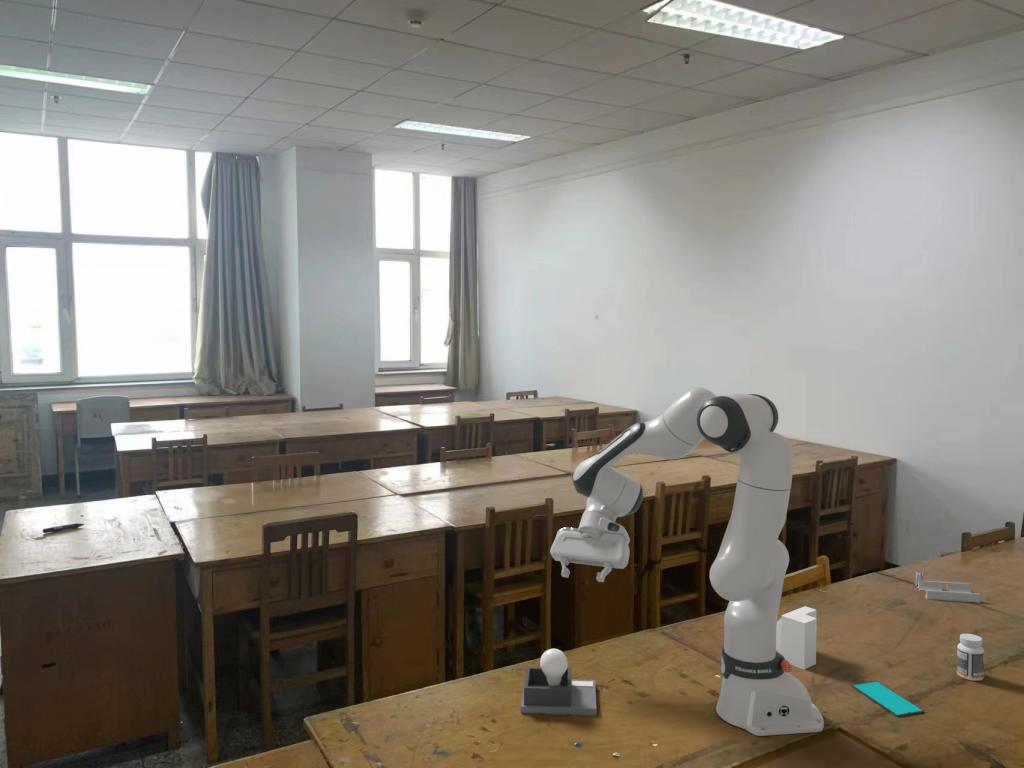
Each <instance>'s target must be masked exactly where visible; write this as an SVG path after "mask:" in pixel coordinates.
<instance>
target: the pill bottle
mask: <svg viewBox="0 0 1024 768" xmlns="http://www.w3.org/2000/svg"><path fill="white" fill-rule="evenodd" d="M959 641H960V642H959V643H958V644H957V647H956V648H957V649H956V650H957V651H956V656H957V657H956V674H957V675H958V676H959V677H961V678H962V679H964V680H968V681H974V682H977V681H978V682H980V681H982V680H983V679H984V677H985V650H984V647H983V646H982V645H983V638H982V637H981V636H979V635H976V634H974V633H973V634H972V633H961V634H960V635H959Z"/></svg>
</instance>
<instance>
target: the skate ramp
mask: <svg viewBox="0 0 1024 768" xmlns="http://www.w3.org/2000/svg"><path fill="white" fill-rule="evenodd" d="M942 584H946V589H944V588H943V587H942ZM970 584H971V583H970V582H961V580H957V581H945V579H938V580H937V578H931V580H929V578H927V577H924V573H923V571H915V587H917V589H918V588H919V589H918V590H919V591H920V590H925V591H924V592H925V596H924V598H925V599H926V600H934V601H947V602H948V601H949V602H950V601H951V602H961V603H962V602H963V603H976V604H981V596H982V595H981V592H976V591H971V585H970ZM917 585H918V586H917Z"/></svg>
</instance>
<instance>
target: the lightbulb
mask: <svg viewBox="0 0 1024 768" xmlns="http://www.w3.org/2000/svg"><path fill="white" fill-rule="evenodd" d="M539 664H540V665H539V667H541V669H542V671H543V673H544V674H545V676H546V678H547V682H548V687H560V682H561V678H562V676H563V674H564V673H565V671H566V669H567V668H568V665H569V664H568V658H567V656H566V654H565V653H564V652H563V650H560V649H558V648H550V649H547V650H545V651H544V652H543V653H542V655H541V656H540V660H539Z"/></svg>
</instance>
